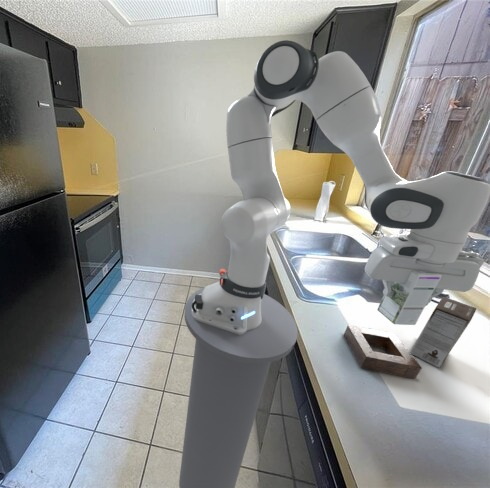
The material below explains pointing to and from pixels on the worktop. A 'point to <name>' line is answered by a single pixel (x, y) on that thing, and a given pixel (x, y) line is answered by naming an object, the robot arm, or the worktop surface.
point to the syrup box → (409, 298)
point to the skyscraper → (324, 202)
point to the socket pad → (391, 363)
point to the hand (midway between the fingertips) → (404, 298)
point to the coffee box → (442, 331)
